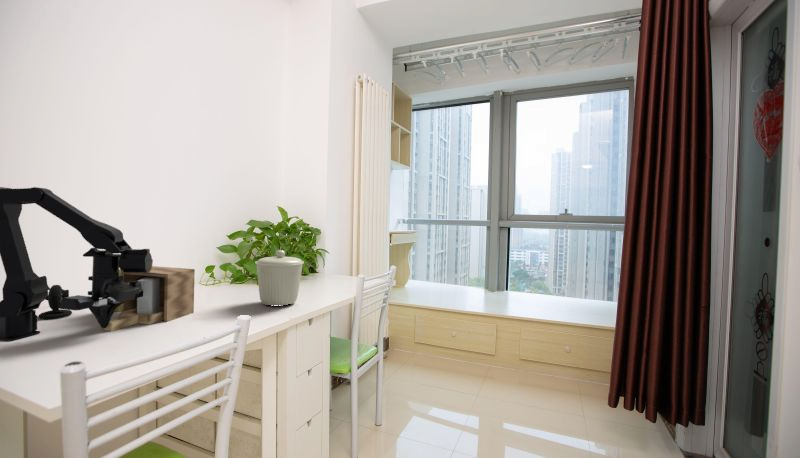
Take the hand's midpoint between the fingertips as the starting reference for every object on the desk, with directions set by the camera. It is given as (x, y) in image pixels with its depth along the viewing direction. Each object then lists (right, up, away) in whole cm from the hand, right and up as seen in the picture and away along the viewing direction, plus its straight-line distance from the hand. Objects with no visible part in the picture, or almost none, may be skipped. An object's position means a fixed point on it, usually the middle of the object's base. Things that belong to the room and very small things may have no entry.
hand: (104, 327), depth 97 cm
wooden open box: (+3, -1, +17) cm, 18 cm away
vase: (-14, +1, +21) cm, 25 cm away
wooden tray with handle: (+2, -1, +10) cm, 10 cm away
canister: (+36, -2, +38) cm, 52 cm away
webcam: (-25, 0, +12) cm, 28 cm away
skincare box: (+3, 0, +13) cm, 14 cm away
